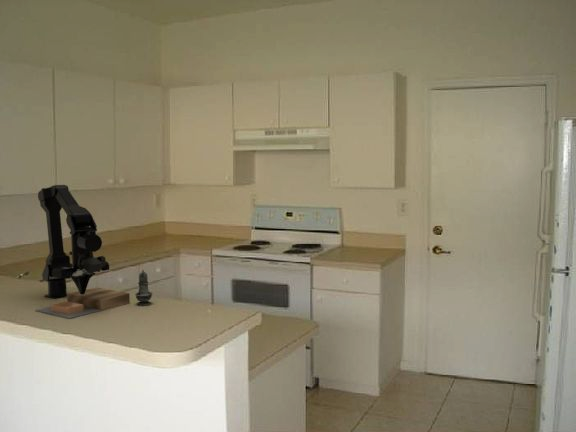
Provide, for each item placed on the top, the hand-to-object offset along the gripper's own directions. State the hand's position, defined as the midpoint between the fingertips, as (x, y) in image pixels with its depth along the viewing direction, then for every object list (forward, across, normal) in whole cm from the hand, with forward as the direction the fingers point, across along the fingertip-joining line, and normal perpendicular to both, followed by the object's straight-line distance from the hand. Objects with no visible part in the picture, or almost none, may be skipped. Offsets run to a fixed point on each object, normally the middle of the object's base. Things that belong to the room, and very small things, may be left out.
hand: (82, 294), depth 195 cm
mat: (+4, -6, 0) cm, 7 cm away
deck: (+4, +6, 0) cm, 8 cm away
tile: (+2, -6, -1) cm, 7 cm away
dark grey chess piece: (+5, +14, -14) cm, 21 cm away
